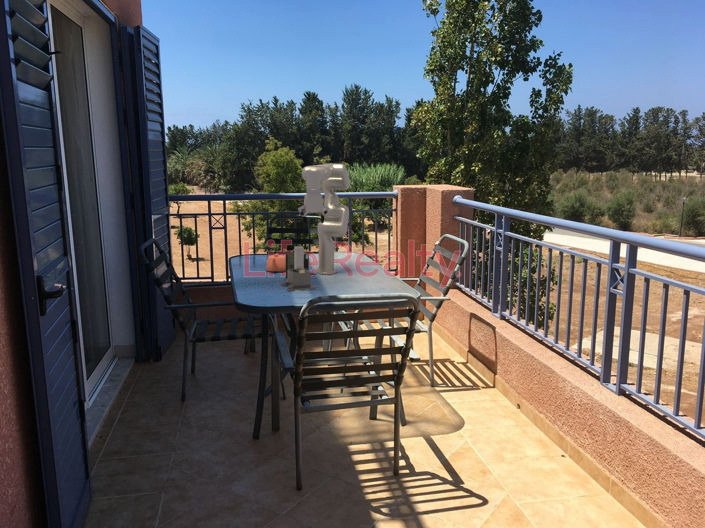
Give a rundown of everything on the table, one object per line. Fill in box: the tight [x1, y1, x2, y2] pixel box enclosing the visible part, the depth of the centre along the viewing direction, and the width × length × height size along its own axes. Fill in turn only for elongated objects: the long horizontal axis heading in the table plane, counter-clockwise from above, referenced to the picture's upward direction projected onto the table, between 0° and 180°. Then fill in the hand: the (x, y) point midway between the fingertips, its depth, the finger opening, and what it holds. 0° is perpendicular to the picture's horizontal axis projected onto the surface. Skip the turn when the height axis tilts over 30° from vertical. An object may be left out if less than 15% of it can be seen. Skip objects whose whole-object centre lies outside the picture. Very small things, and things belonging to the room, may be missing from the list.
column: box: [293, 245, 305, 272], centre depth 303 cm, size 5×4×16 cm
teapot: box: [265, 253, 286, 273], centre depth 341 cm, size 12×18×10 cm, turn 175°
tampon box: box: [285, 251, 310, 279], centre depth 324 cm, size 11×9×15 cm
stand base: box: [280, 268, 318, 292], centre depth 305 cm, size 16×16×10 cm
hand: (313, 223), depth 307 cm, fingers open, 9 cm apart
